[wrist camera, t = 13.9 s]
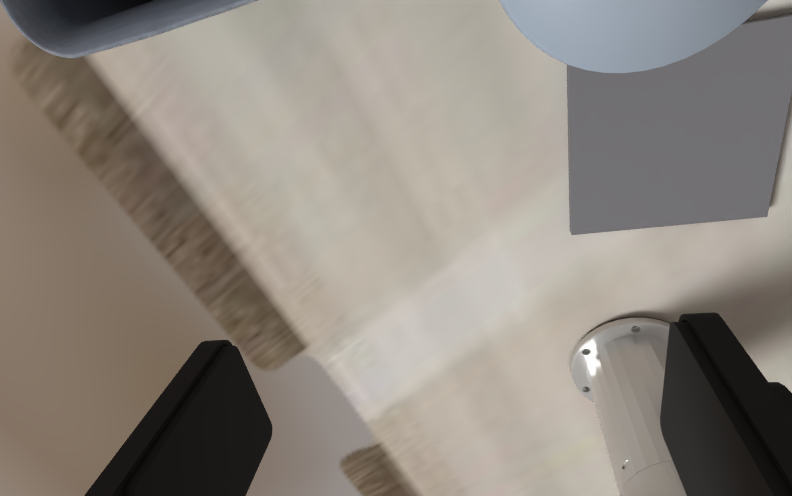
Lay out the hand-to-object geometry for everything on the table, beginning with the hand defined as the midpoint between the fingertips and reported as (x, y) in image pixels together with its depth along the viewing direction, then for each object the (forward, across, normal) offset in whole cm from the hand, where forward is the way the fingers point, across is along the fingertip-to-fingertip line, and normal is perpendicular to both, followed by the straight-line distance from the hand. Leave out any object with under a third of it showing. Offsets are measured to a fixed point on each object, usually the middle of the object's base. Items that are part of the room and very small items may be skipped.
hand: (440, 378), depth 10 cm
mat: (+34, -16, +7) cm, 38 cm away
